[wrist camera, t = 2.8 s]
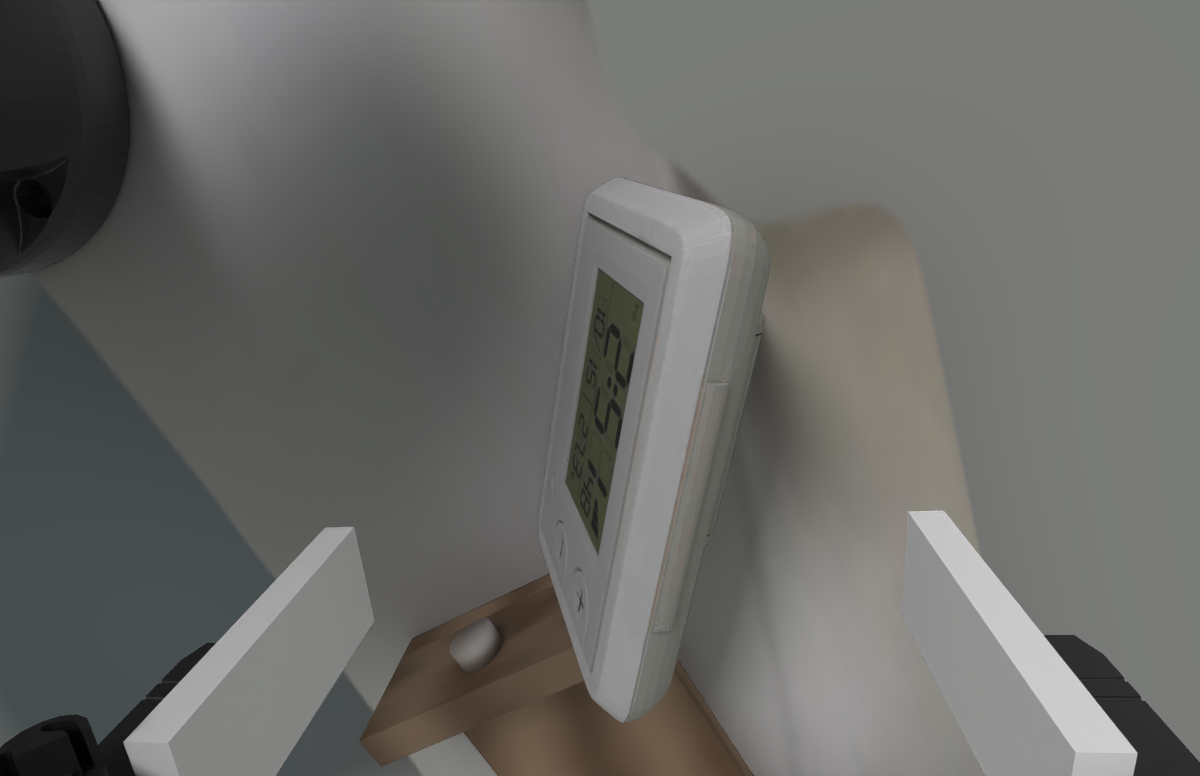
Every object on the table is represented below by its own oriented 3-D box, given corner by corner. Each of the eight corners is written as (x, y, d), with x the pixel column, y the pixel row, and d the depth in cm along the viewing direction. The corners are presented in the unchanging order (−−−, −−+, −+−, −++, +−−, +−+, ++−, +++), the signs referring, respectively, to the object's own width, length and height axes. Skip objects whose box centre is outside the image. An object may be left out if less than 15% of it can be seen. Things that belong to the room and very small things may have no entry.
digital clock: (605, 152, 26) (570, 149, 15) (826, 239, 26) (932, 292, 16) (479, 506, 31) (393, 675, 21) (664, 575, 31) (667, 773, 21)
